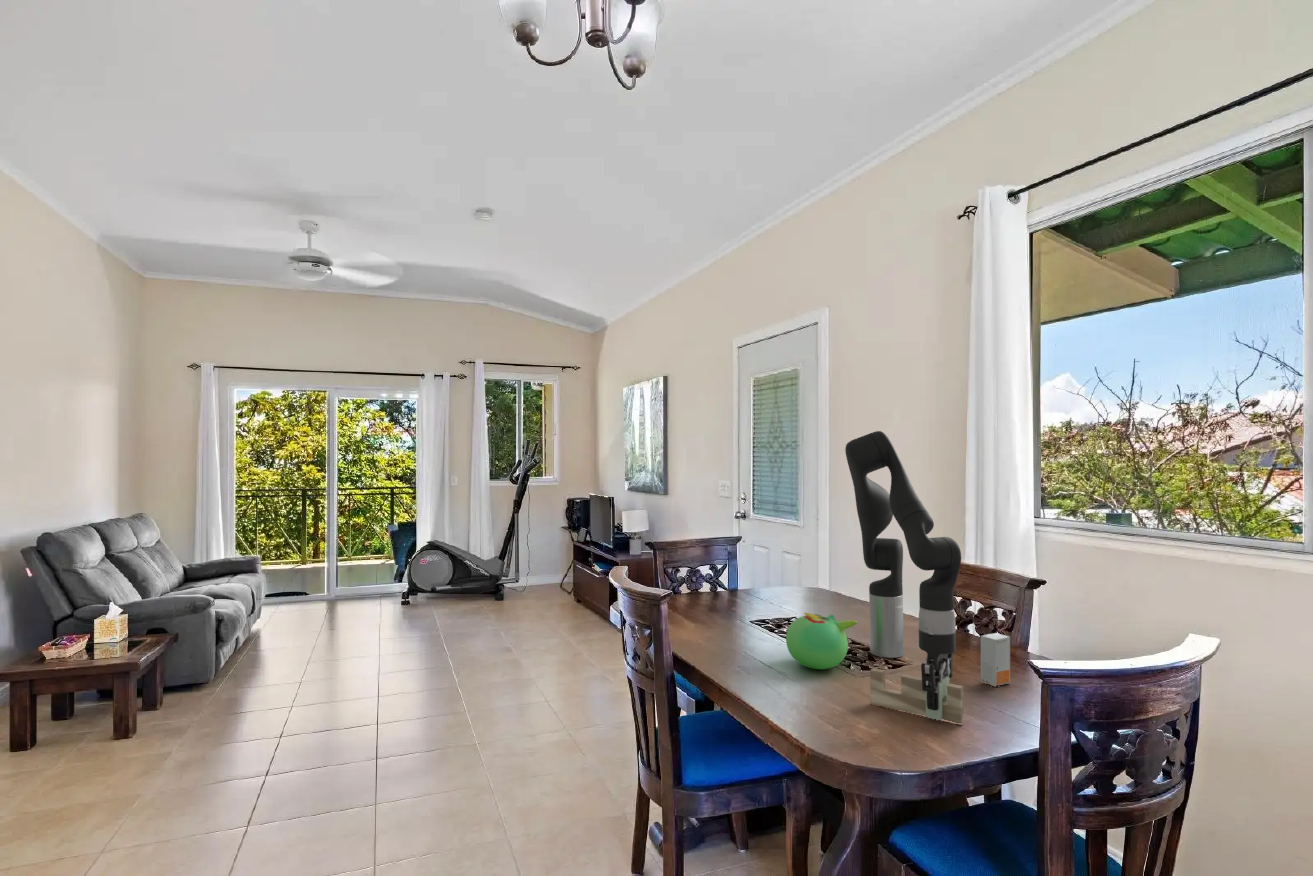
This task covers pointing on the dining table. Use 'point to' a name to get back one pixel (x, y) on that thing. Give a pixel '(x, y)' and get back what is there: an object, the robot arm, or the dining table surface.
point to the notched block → (941, 697)
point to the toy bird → (818, 640)
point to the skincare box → (995, 658)
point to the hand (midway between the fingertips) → (938, 704)
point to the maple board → (914, 696)
